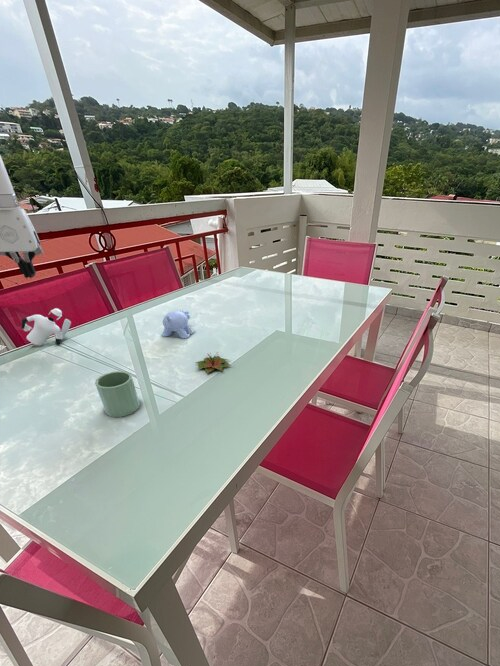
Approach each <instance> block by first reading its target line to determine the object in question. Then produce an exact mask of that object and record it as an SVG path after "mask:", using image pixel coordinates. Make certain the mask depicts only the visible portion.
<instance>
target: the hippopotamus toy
mask: <svg viewBox="0 0 500 666" xmlns="http://www.w3.org/2000/svg"><path fill="white" fill-rule="evenodd" d="M190 319H191V314H190V313H189V311H186V310H184V309H180V310H174V311H170V312H168V313H166V314H165V316H163V319H162V325H163V327H164V328H163V331H162V334H161V335H162V337H170V336H172V334H173V333H175V332H176V333H177V335H178V336H179V338H181V339H187V338H190V336H191V335H192V334H194V333H195V330H193V329H192V328H191V326H190V325H189V320H190Z"/></svg>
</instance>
